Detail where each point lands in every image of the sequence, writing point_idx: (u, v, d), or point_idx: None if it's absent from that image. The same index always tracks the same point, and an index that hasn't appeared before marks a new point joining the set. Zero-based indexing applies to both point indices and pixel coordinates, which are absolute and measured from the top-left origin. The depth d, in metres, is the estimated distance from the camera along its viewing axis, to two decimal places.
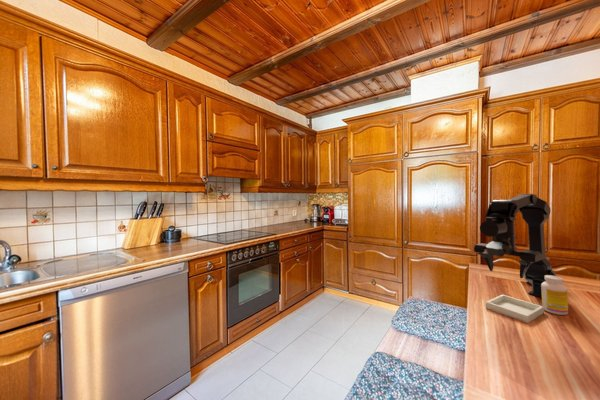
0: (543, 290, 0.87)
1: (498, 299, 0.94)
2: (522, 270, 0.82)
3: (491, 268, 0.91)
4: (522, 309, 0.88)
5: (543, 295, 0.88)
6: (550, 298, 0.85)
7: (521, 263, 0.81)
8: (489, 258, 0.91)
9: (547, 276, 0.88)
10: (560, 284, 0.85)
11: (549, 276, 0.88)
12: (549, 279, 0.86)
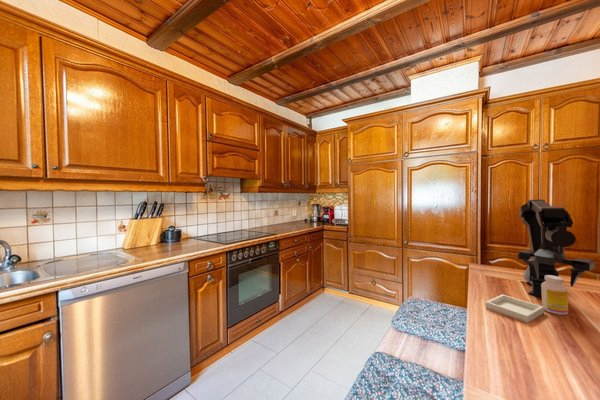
0: (543, 290, 0.87)
1: (498, 299, 0.94)
2: (573, 278, 0.81)
3: (537, 276, 0.91)
4: (522, 309, 0.88)
5: (543, 295, 0.88)
6: (550, 298, 0.85)
7: (573, 271, 0.81)
8: (535, 265, 0.91)
9: (547, 276, 0.88)
10: (560, 284, 0.85)
11: (549, 276, 0.88)
12: (549, 279, 0.86)
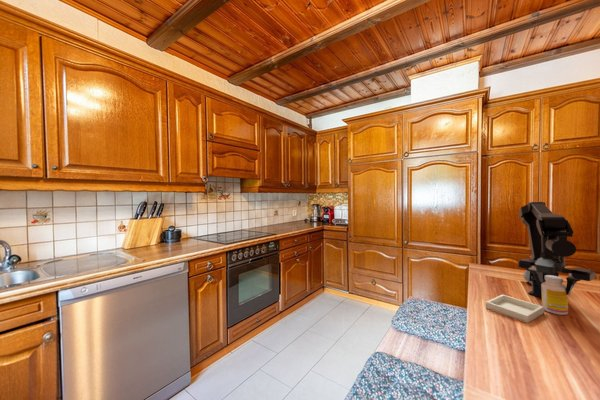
0: (543, 290, 0.87)
1: (498, 299, 0.94)
2: (569, 287, 0.82)
3: None
4: (522, 309, 0.88)
5: (543, 295, 0.88)
6: (550, 298, 0.85)
7: (568, 280, 0.82)
8: (539, 275, 0.90)
9: (547, 276, 0.88)
10: (560, 284, 0.85)
11: (549, 276, 0.88)
12: (549, 279, 0.86)
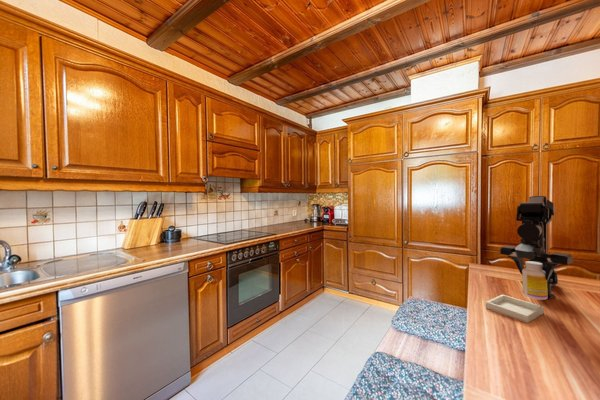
0: (524, 276, 0.88)
1: (498, 299, 0.94)
2: (548, 272, 0.83)
3: None
4: (522, 309, 0.88)
5: (524, 281, 0.88)
6: (530, 284, 0.86)
7: (547, 265, 0.82)
8: (520, 261, 0.90)
9: (527, 262, 0.88)
10: (540, 269, 0.85)
11: (529, 262, 0.88)
12: (529, 265, 0.87)
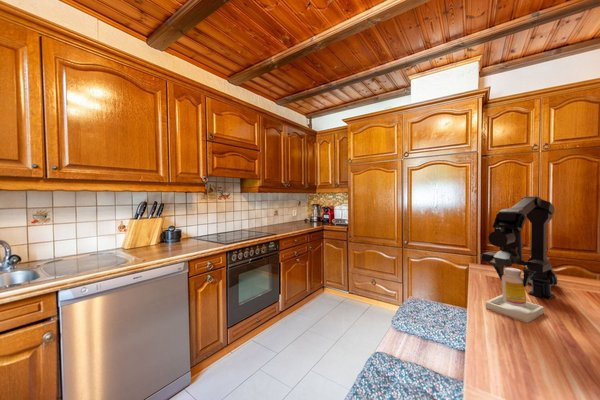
0: (503, 282, 0.89)
1: (498, 299, 0.94)
2: (526, 279, 0.84)
3: None
4: (522, 309, 0.88)
5: (503, 287, 0.89)
6: (509, 290, 0.87)
7: (524, 272, 0.83)
8: (500, 268, 0.92)
9: (507, 268, 0.89)
10: (518, 276, 0.86)
11: (508, 268, 0.89)
12: (508, 271, 0.88)
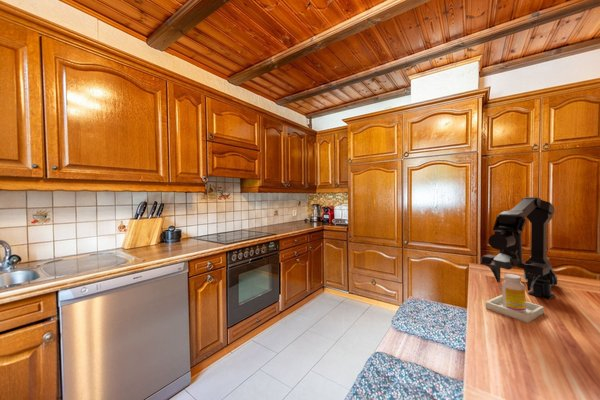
0: (503, 289, 0.89)
1: (498, 299, 0.94)
2: (530, 283, 0.83)
3: (498, 279, 0.92)
4: None
5: (503, 293, 0.89)
6: (509, 297, 0.87)
7: (529, 276, 0.82)
8: (496, 269, 0.93)
9: (506, 275, 0.89)
10: (518, 283, 0.86)
11: (508, 275, 0.89)
12: (508, 278, 0.88)
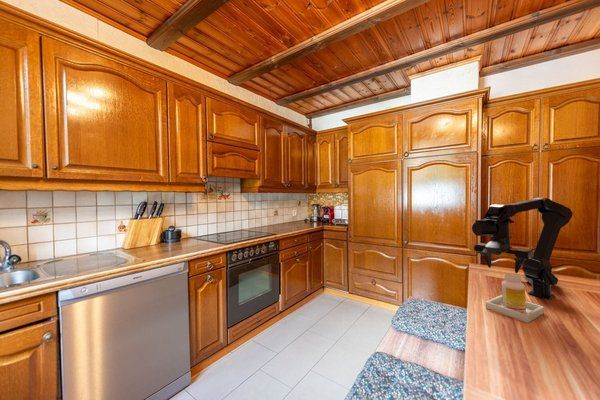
0: (503, 288, 0.89)
1: (498, 299, 0.94)
2: (517, 266, 0.94)
3: (489, 265, 1.03)
4: None
5: (503, 293, 0.90)
6: (509, 296, 0.87)
7: (516, 260, 0.93)
8: (487, 256, 1.03)
9: (507, 275, 0.90)
10: (518, 282, 0.87)
11: (508, 275, 0.90)
12: (508, 278, 0.88)
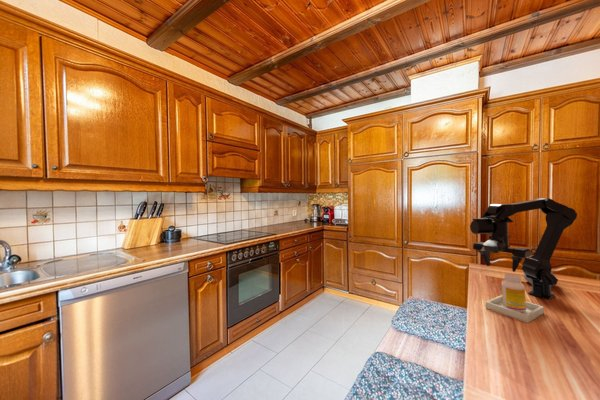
0: (503, 288, 0.89)
1: (498, 299, 0.94)
2: (514, 264, 0.95)
3: (488, 263, 1.04)
4: None
5: (503, 293, 0.90)
6: (509, 296, 0.87)
7: (513, 258, 0.95)
8: (486, 255, 1.05)
9: (506, 275, 0.90)
10: (518, 282, 0.87)
11: (508, 275, 0.90)
12: (508, 278, 0.88)
